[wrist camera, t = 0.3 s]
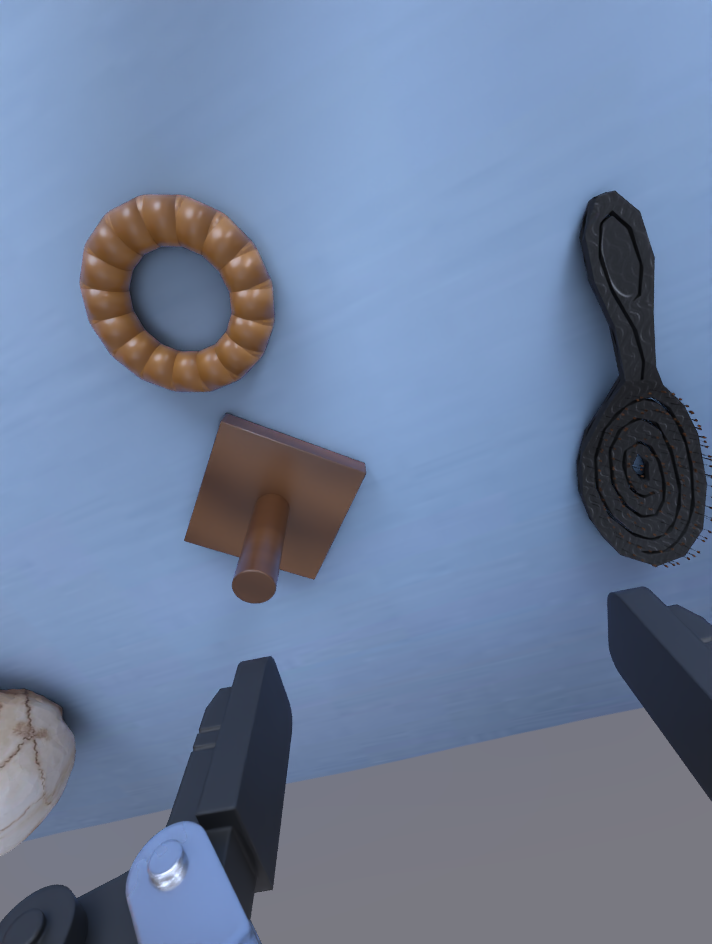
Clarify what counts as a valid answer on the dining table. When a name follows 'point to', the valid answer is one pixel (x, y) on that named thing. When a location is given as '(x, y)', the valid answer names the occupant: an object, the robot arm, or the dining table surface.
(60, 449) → the dining table surface
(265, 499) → the peg stand
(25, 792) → the coin bank
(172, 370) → the donut
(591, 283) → the hairbrush
